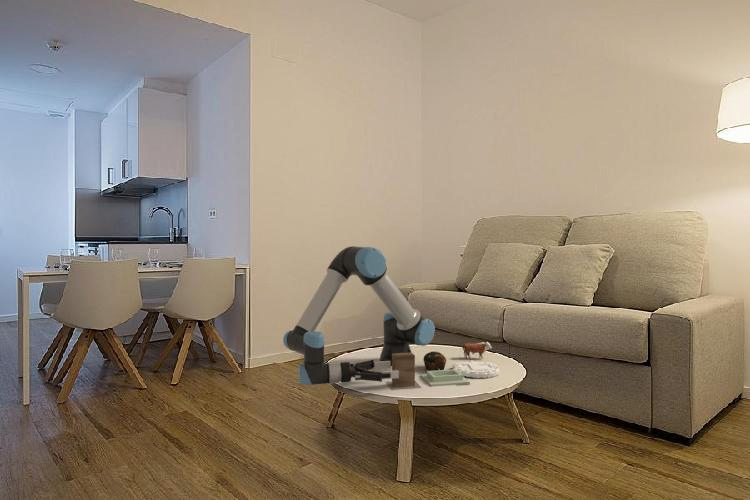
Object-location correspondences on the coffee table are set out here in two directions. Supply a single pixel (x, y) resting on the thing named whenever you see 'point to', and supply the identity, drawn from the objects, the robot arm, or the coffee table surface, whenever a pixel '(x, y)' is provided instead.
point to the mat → (403, 387)
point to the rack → (444, 378)
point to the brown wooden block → (404, 369)
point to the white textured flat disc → (477, 369)
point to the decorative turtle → (434, 361)
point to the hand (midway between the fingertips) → (394, 369)
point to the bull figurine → (475, 349)
